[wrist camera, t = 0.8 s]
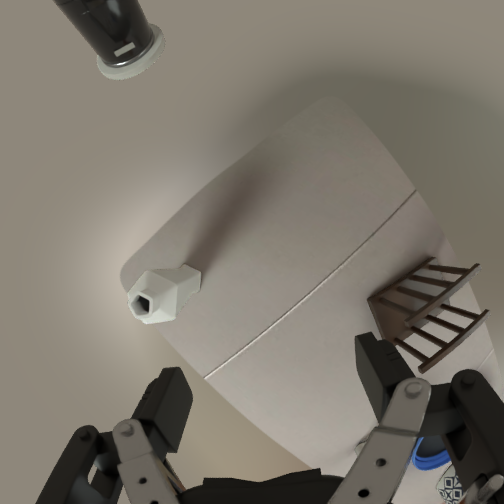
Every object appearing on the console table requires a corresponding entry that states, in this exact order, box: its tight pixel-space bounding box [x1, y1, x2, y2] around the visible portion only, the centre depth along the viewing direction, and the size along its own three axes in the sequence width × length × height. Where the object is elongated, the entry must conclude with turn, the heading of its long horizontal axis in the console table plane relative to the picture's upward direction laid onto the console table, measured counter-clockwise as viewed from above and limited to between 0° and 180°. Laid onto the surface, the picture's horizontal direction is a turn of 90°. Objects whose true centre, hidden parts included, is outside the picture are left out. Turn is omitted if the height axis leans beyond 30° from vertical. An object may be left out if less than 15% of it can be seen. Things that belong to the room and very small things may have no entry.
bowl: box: [412, 435, 451, 471], centre depth 33 cm, size 18×18×4 cm
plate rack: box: [367, 257, 490, 374], centre depth 29 cm, size 12×8×10 cm, turn 117°
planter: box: [437, 464, 464, 504], centre depth 27 cm, size 18×18×16 cm
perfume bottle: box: [127, 264, 201, 324], centre depth 26 cm, size 5×4×15 cm
